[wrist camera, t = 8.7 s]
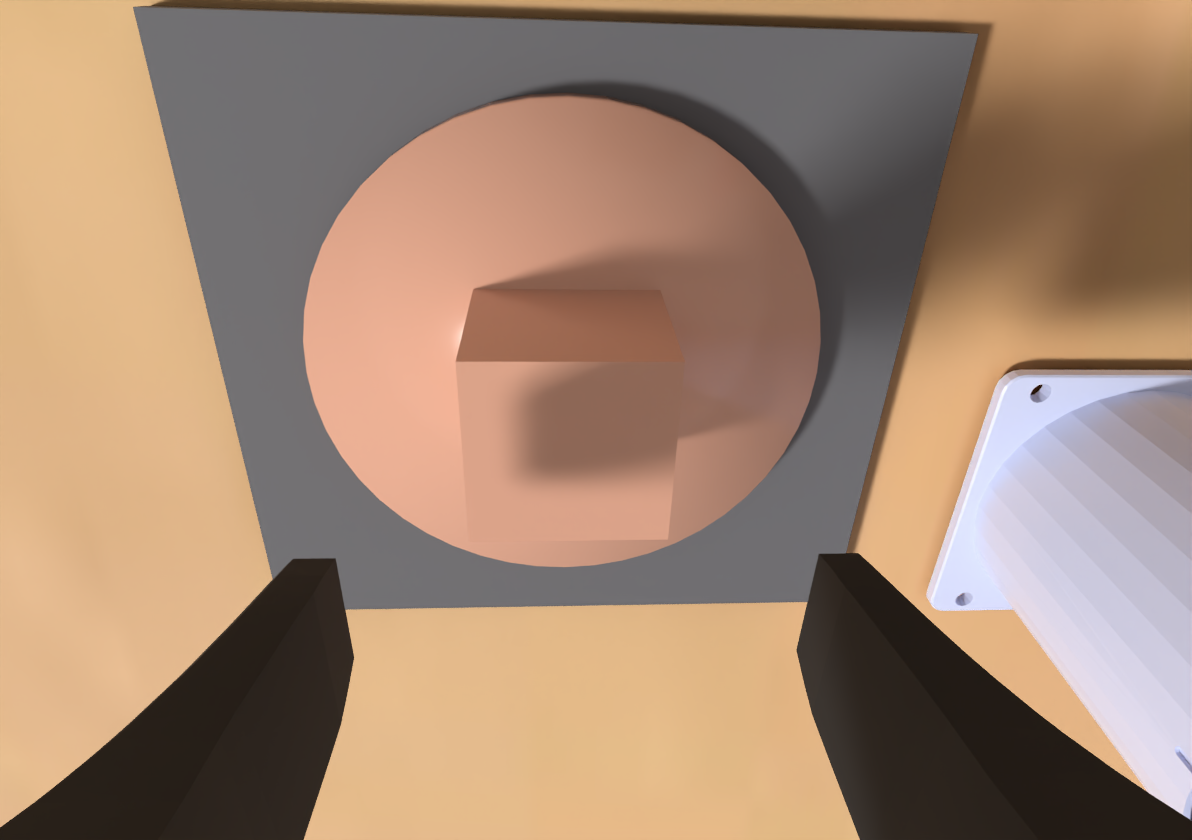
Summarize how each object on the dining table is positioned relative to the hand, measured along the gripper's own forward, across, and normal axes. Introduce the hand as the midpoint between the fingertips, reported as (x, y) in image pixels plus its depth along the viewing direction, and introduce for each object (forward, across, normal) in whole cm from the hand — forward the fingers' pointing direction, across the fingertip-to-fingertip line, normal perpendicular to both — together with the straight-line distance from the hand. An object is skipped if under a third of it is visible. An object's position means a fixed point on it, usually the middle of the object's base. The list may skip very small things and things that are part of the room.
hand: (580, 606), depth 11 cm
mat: (+8, 0, 0) cm, 8 cm away
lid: (+8, 0, 0) cm, 8 cm away
